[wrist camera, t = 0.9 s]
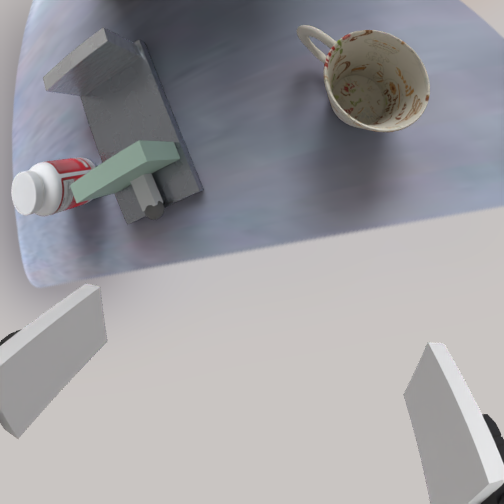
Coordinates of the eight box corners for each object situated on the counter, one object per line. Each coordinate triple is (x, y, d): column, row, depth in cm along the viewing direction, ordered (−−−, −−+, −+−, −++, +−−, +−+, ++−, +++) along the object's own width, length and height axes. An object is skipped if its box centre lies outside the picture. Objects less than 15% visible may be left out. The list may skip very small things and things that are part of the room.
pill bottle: (62, 169, 36) (2, 180, 26) (92, 149, 34) (30, 153, 24) (76, 210, 37) (18, 230, 27) (107, 193, 36) (47, 209, 26)
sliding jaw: (110, 177, 33) (69, 185, 26) (173, 142, 31) (139, 140, 24) (132, 230, 35) (95, 249, 28) (198, 201, 33) (169, 214, 25)
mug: (362, 154, 30) (386, 154, 21) (270, 75, 29) (256, 45, 20) (410, 102, 27) (448, 85, 18) (321, 25, 26) (324, -19, 17)
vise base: (83, 85, 32) (39, 76, 24) (144, 42, 29) (106, 21, 21) (133, 222, 36) (92, 240, 28) (203, 189, 34) (173, 201, 26)
